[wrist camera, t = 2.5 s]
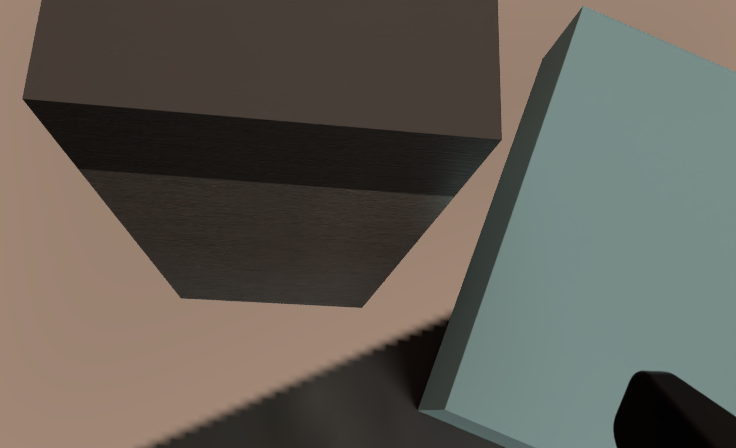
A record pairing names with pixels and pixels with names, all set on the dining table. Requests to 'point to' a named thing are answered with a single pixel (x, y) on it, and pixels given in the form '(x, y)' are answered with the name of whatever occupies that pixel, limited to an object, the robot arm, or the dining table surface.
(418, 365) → the dining table surface
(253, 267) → the housing
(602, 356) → the stand
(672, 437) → the robot arm
